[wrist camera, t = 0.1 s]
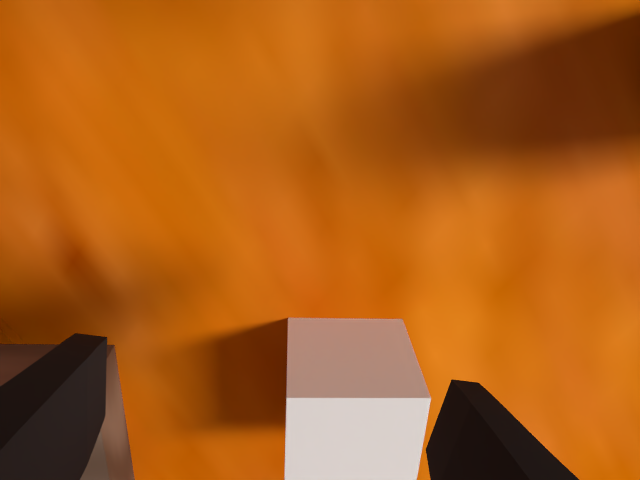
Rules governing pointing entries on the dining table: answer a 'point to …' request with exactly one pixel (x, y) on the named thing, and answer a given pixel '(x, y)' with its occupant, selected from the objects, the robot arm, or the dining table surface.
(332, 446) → the off-white block
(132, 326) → the dining table surface
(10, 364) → the walnut block
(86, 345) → the robot arm
